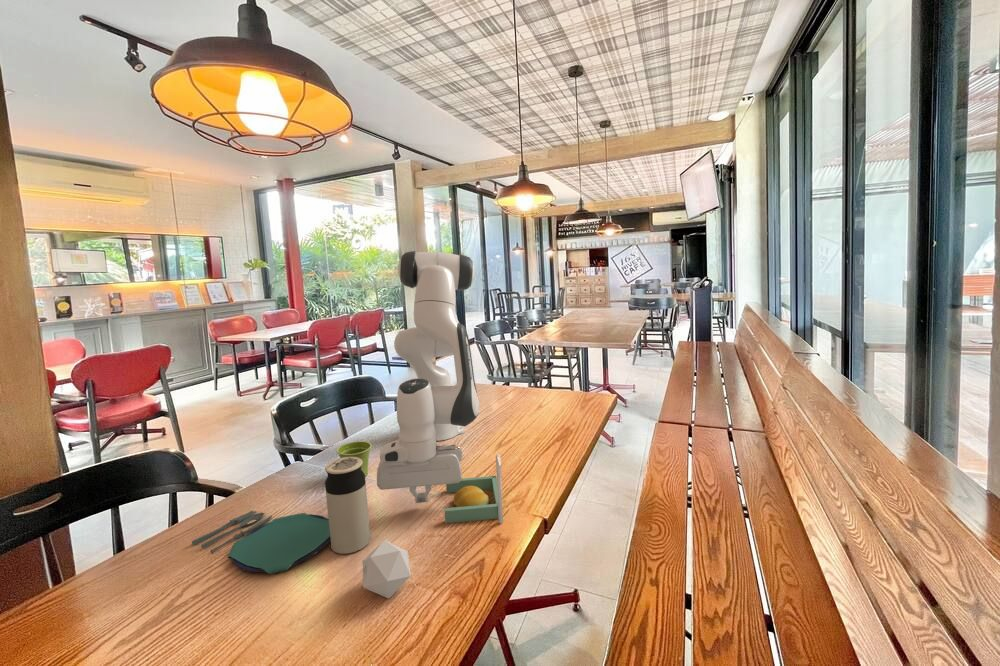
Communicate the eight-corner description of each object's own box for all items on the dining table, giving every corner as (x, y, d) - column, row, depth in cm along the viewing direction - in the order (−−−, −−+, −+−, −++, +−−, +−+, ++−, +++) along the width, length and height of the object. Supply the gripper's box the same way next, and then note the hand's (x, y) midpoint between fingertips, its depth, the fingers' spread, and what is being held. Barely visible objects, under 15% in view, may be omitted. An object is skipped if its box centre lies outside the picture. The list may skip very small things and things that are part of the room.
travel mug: (377, 535, 96) (371, 457, 94) (354, 558, 89) (347, 474, 86) (347, 530, 99) (340, 454, 96) (323, 551, 91) (314, 470, 89)
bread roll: (463, 518, 102) (462, 502, 101) (450, 501, 110) (449, 486, 110) (495, 509, 106) (494, 493, 105) (480, 493, 114) (479, 478, 113)
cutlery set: (276, 590, 81) (275, 579, 81) (181, 552, 94) (179, 542, 94) (354, 532, 99) (353, 522, 98) (265, 506, 112) (264, 498, 111)
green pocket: (446, 490, 115) (443, 432, 113) (496, 486, 116) (494, 428, 114) (444, 541, 93) (440, 470, 91) (505, 535, 94) (503, 465, 92)
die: (380, 571, 86) (349, 549, 80) (417, 548, 86) (389, 524, 80) (383, 613, 79) (349, 592, 73) (424, 587, 79) (393, 565, 73)
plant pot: (380, 471, 128) (378, 443, 127) (357, 486, 120) (355, 456, 118) (356, 466, 132) (353, 439, 131) (332, 480, 124) (329, 451, 122)
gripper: (461, 439, 109) (464, 491, 111) (377, 445, 107) (382, 498, 109) (461, 449, 103) (464, 504, 105) (373, 456, 101) (377, 512, 103)
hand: (421, 501), depth 107 cm, fingers closed
